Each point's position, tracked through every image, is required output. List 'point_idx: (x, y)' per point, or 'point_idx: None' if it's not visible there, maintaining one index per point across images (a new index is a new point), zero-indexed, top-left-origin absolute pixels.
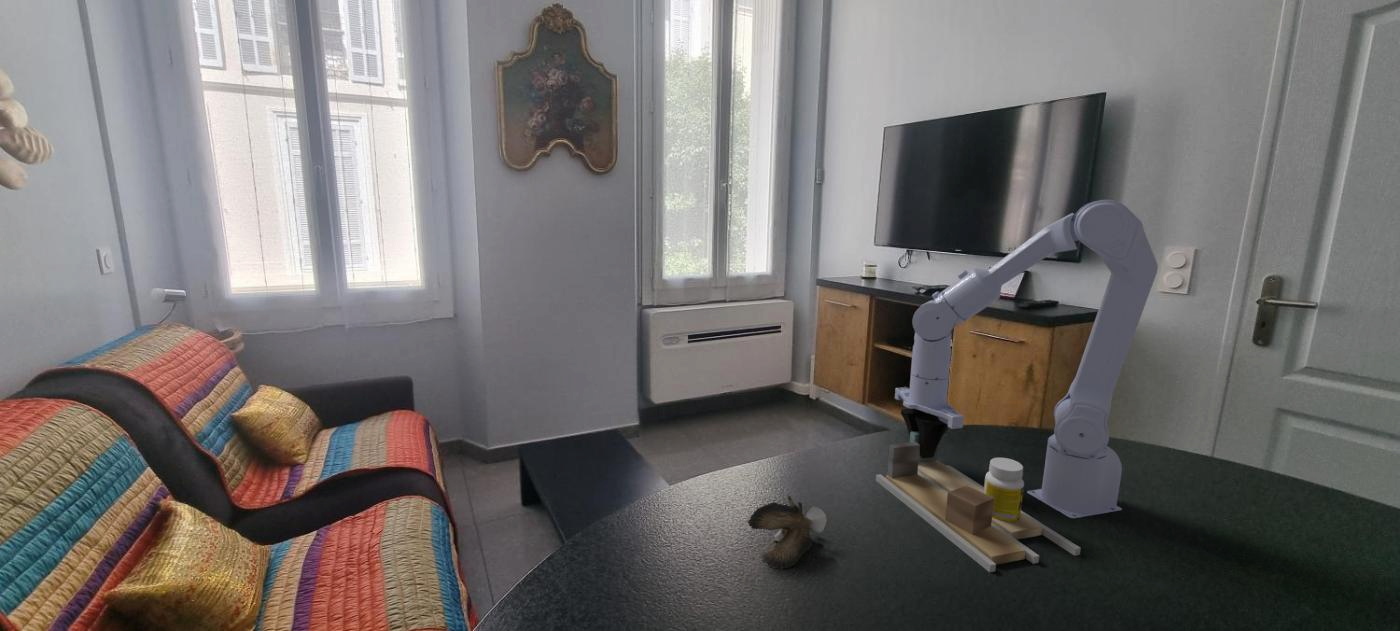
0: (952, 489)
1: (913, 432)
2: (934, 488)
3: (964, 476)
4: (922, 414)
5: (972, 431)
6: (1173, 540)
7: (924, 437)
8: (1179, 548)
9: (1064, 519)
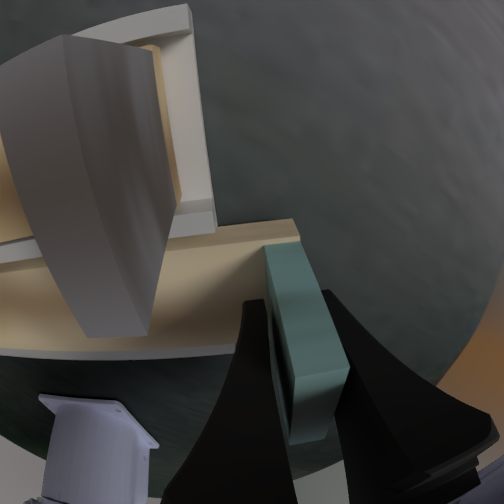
0: (34, 279)
1: (334, 378)
2: (27, 223)
3: (151, 354)
4: (370, 494)
5: None
6: (40, 428)
7: (219, 404)
8: (25, 421)
9: (43, 389)
